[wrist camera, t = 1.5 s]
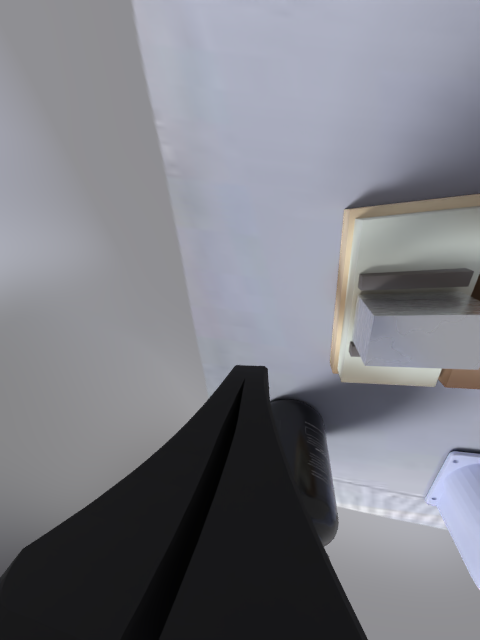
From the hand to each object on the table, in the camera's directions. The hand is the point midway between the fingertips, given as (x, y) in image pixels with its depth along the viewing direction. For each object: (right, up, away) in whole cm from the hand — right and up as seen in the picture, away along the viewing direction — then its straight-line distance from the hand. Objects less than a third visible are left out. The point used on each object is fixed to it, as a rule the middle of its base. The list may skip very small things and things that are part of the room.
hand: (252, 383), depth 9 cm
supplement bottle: (+5, -8, +14) cm, 17 cm away
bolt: (+9, +3, +4) cm, 10 cm away
